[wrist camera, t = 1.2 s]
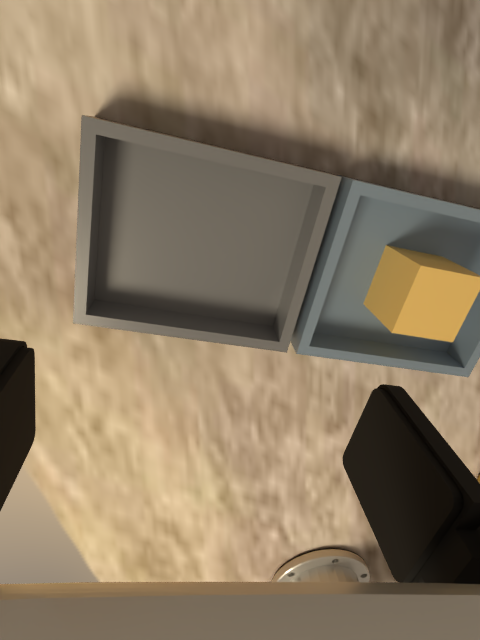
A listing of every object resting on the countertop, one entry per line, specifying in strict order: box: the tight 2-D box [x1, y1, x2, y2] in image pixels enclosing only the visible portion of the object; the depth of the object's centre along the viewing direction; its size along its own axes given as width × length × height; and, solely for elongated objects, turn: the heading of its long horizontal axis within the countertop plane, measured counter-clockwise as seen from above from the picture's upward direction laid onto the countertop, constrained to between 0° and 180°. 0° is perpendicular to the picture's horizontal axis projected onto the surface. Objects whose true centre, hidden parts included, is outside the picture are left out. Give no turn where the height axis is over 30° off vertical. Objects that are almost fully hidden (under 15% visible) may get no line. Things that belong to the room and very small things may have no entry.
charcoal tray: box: [73, 115, 342, 352], centre depth 27 cm, size 13×16×3 cm
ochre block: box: [363, 245, 480, 342], centre depth 29 cm, size 5×5×5 cm
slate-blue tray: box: [291, 175, 480, 377], centre depth 30 cm, size 13×16×3 cm
